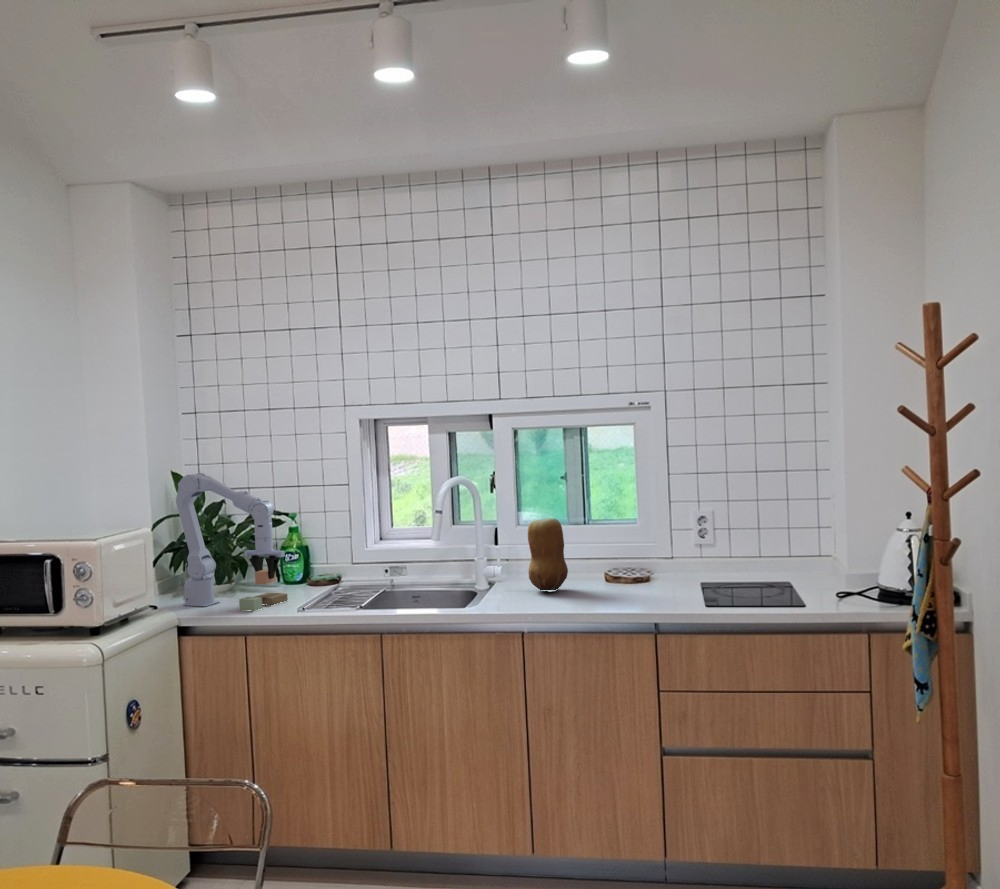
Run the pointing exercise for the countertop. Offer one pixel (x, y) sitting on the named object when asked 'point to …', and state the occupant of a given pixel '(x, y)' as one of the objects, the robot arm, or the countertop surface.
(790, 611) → the countertop surface
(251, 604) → the sage brick
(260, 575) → the terracotta brick
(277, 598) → the walnut slab
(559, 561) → the butternut squash
